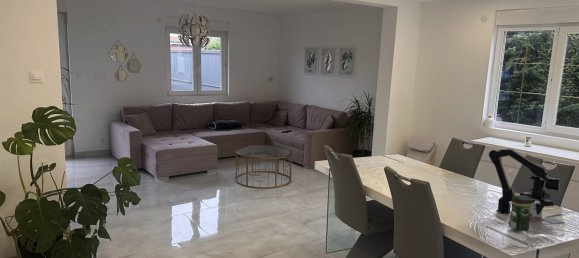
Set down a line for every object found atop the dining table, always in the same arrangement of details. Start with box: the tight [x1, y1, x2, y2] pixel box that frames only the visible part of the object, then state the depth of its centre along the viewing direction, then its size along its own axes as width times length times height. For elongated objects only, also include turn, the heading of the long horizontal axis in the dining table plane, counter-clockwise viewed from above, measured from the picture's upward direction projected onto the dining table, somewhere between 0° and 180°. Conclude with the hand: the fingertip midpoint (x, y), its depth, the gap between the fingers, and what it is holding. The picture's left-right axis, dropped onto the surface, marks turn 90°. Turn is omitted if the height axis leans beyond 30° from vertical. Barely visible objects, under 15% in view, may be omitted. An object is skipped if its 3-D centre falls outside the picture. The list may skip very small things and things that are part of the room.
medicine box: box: [529, 201, 543, 219], centre depth 243 cm, size 8×4×9 cm, turn 104°
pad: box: [542, 217, 565, 225], centre depth 240 cm, size 9×8×1 cm
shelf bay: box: [529, 213, 544, 223], centre depth 243 cm, size 10×8×4 cm
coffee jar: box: [508, 194, 532, 232], centre depth 224 cm, size 10×8×19 cm
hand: (534, 213), depth 243 cm, fingers closed on medicine box, 4 cm apart
